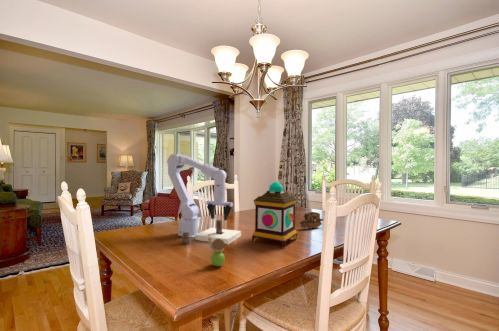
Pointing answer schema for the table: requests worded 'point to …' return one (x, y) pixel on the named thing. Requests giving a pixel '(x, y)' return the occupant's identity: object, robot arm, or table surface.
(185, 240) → the short dowel
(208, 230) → the hole board
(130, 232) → the table surface
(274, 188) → the decorative lantern
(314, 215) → the wooden carving
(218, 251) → the snail figurine
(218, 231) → the tall dowel
